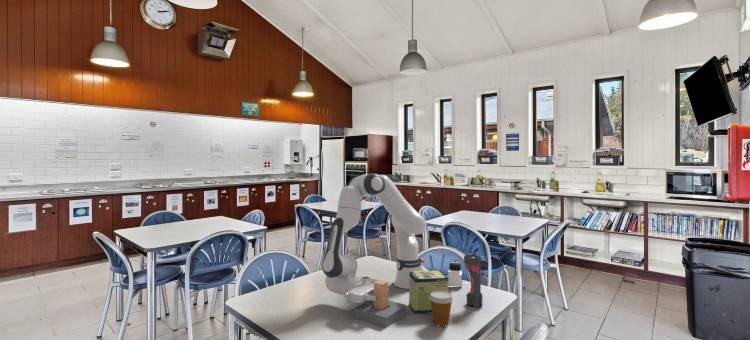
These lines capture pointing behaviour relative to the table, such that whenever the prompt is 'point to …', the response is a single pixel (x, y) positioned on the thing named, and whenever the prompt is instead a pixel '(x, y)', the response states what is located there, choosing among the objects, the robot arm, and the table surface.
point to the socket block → (380, 313)
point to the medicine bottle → (455, 274)
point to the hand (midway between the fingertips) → (382, 294)
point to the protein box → (425, 289)
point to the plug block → (381, 295)
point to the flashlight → (474, 279)
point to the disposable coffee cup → (441, 307)
